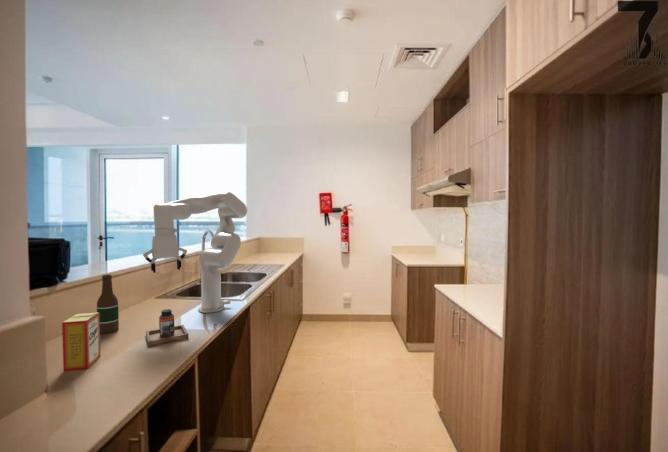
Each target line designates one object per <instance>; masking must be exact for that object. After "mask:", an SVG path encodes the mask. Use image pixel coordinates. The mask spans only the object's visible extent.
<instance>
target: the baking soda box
mask: <svg viewBox="0 0 668 452" xmlns="http://www.w3.org/2000/svg"><path fill="white" fill-rule="evenodd" d="M61 327H62V328H61V333H62V365H63V366H62V367H63V372H72V371H73V372H74V371H82V370H88V369H89V368H90V367H92V365H94V364H95V362H97V361H98V360H99V358H101V334H100V315H99V312H97V311H95V312H82V313H81V312H80V313H76V314H74V315H73V316H71V317H70V318H67V319H66V320H63V321H62V322H61Z"/></svg>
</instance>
